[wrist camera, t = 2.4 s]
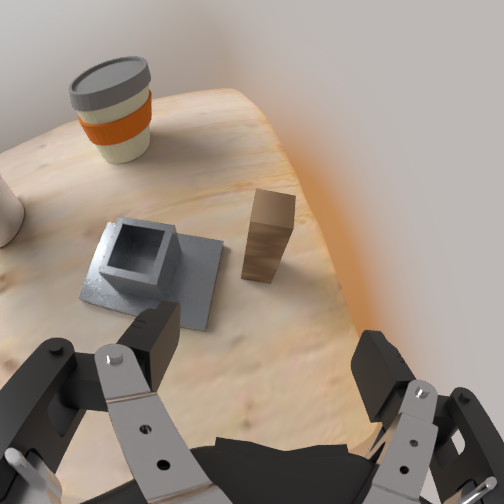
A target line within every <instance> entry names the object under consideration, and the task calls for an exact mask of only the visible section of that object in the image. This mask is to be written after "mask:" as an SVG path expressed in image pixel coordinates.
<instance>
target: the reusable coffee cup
mask: <svg viewBox="0 0 504 504" xmlns="http://www.w3.org/2000/svg"><path fill="white" fill-rule="evenodd" d="M150 80H151V76H150V72H149V68H148V65H147V61H146V60H145V59H144V58H142V57H136V56H129V57H120V58H116V59H112V60H108V61H105V62H102V63H100V64H98V65H95V66H93V67H91V68H89V69H88V70H86V71H84V72H83V73H81V74H80V75H79V76H78V77H76V78H75V79H74V80H73V81H72V83H71V84H70V86H69V94H70V99H71V104H72V107H73V108H74V109H75V110H77V112H78V114H79V122H80V123H81V125H82V127H83V129H84V131H85V132H86V134H87V136H88V138H89V139H90V141H91V142H92V143H94V144H95V145H96V146H97V148H98V150H99V152H100V153H101V155H102V157H103V158H104V160H105V161H107V162H108V163H112V164H122V163H126V162H129V161H132V160H134V159H136V158H138V157H139V156H141V155H142V154H143V153H144V152H145V151H146V150H147V148H148V147H149V144H150V128H149V123H150V121H151V116H152V112H151V91H150V90H149V82H150Z"/></svg>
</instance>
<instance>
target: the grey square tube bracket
mask: <svg viewBox="0 0 504 504" xmlns="http://www.w3.org/2000/svg"><path fill="white" fill-rule="evenodd" d="M222 249H223V241H219V240H214V239H208V238H202V237H196V236H190V235H184V234H178V233H177V232H176V228H175V225H169V224H163V223H156V222H150V221H144V220H137V219H131V218H124V217H119V219H118V221H117V223H111V222H108V223H107V225H106V228H105V230H104V232H103V235H102V237H101V240H100V242H99V244H98V247H97V249H96V252H95V255H94V257H93V260H92V262H91V265H90V268H89V271H88V273H87V276H86V279H85V282H84V285H83V288H82V291H81V294H80V297H79V299H80V300H82V301H84V302H87V303H90V304H93V305H97V306H100V307H103V308H107V309H110V310H114V311H118V312H121V313H125V314H129V315H133V316H136V317H137V316H138V315H139V314H140V313H141V312H142V311H144V310H146V309H148V308H152V309H156V308H157V306H158V305H159V304H160V302H161V301H162V300H163V299H164V300H169V301H173V302H178V303H180V305H181V313H180V327H183V328H188V329H193V330H198V331H203V332H206V326H207V321H208V316H209V311H210V306H211V301H212V296H213V291H214V287H215V282H216V277H217V272H218V267H219V263H220V258H221V254H222Z"/></svg>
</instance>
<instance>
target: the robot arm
mask: <svg viewBox="0 0 504 504" xmlns="http://www.w3.org/2000/svg"><path fill="white" fill-rule="evenodd" d="M23 218H24V207H23V205H22V204H21V202H20V201H19V200H18V199H17V197H16V196H15V195H14V193H13V192H12V190H11V189H10V188H9V186H8V185H7V184H6V182H5V181H4V179H3V178H2V177H1V175H0V247H3V246H5V245H6V244H8V243H9V242H10V241H11V240H12V239H13V238H14V236H15V235H16V234H17V232H18V230H19V229H20V227H21V224H22V222H23ZM180 313H181V305H180V303H178V302H173V301H169V300H164V299H163V300H162V301H161V302H160V304H159V305H158V306H157V308H156V309H152V308H148V309H146V310H144V311H142V312H141V313H140V314H139V315H138V316H137V317H136V319H135V321H133V322H132V324H131V326H129V328H128V329H127V330H126V331H125V333H124V334H123V335H122V337H121V338H120V339H119V340H118V342H117V343H116V344H108V345H105V346H102V347H101V348H99V349H98V350H97V351H96V353H95V354H87V353H77V352H75V351H74V347H73V345H72V343H71V342H70V341H68V340H66V339H63V338H51V339H48V340H46V341H44V342H43V343H42V344H41V345H40V346H39V347H38V348H37V349H36V350H35V351H34V352H33V353H32V354H31V355H30V357H29V358H28V359H27V360H26V361H25V362H24V363H23V364H22V365H21V367H20V368H19V369H18V370H17V371H16V372H15V373H14V375H13V376H12V377H11V378H10V379H9V381H8V382H7V383H6V384H5V385H4V387H3V388H2V389H1V390H0V504H61V495H62V487H61V484H60V482H59V480H58V478H57V477H56V476H55V473H56V471H57V469H58V466H59V464H60V462H61V460H62V458H63V456H64V454H65V452H66V450H67V448H68V446H69V444H70V441H71V439H72V437H73V436H74V434H75V432H76V430H77V428H78V426H79V424H80V422H81V420H82V418H83V416H84V414H85V412H86V411H87V410H95V411H105V412H108V413H109V416H110V419H111V422H112V425H113V428H114V430H115V433H116V436H117V439H118V441H119V444H120V447H121V449H122V452H123V454H124V457H125V459H126V462H127V464H128V466H129V469H130V471H131V473H132V475H133V477H134V479H132V480H131V481H129V482H127V483H125V484H123V485H121V486H119V487H116V488H114V489H112V490H110V491H108V492H106V493H104V494H101V495H99V496H97V497H95V498H92V499H90V500H87V501H85V502H83V503H80V504H432V503H430V502H429V501H427V500H426V499H424V498H423V497H421V496H420V493H421V490H422V487H423V484H424V481H425V478H426V474H427V471H428V468H430V470H431V473H432V476H433V479H434V482H435V485H436V488H437V492H438V495H439V498H440V501H441V504H504V442H503V440H502V438H501V437H500V435H499V433H498V431H497V430H496V428H495V426H494V425H493V423H492V421H491V420H490V418H489V416H488V415H487V413H486V412H485V410H484V408H483V407H482V405H481V404H480V402H479V401H478V399H477V398H476V396H475V395H474V394H473V393H472V392H471V391H470V390H468V389H466V388H462V387H458V388H455V389H454V390H453V392H452V393H451V395H450V396H441V395H438V394H437V391H436V389H435V388H434V387H433V386H432V385H431V384H429V383H428V382H426V381H422V380H416V378H415V376H414V375H413V373H412V372H411V370H410V368H409V367H408V365H407V364H406V363H405V361H404V359H403V358H402V357H401V354H400V353H399V351H398V350H397V348H395V347H394V346H393V345H392V344H391V343H389V342H388V341H387V340H386V338H385V336H384V335H383V333H382V332H381V331H372V330H365V331H364V332H363V333H362V335H361V338H360V340H359V343H358V345H357V347H356V350H355V352H354V355H353V357H352V360H351V371H352V374H353V376H354V379H355V381H356V384H357V387H358V389H359V392H360V395H361V397H362V400H363V403H364V405H365V408H366V411H367V414H368V416H369V419H370V422H371V423H373V422H382V426H381V427H380V429H379V430H378V432H377V434H376V436H375V438H374V440H373V442H372V444H371V446H370V448H369V450H368V452H367V453H366V455H365V457H362V456H359V455H355V454H352V453H349V452H348V448H347V444H343V445H316V446H311V447H307V448H302V449H296V450H291V451H281V450H277V449H274V448H270V447H266V446H263V445H259V444H256V443H253V442H248V441H240V440H233V439H226V438H219V437H216V442H215V446H203V447H197V448H192V449H189V448H188V447H187V445H186V444H185V442H184V440H183V439H182V437H181V435H180V434H179V432H178V430H177V429H176V427H175V425H174V423H173V422H172V420H171V418H170V416H169V415H168V413H167V411H166V409H165V407H164V405H163V403H162V401H161V400H160V398H159V396H158V394H157V393H156V392H157V390H158V388H159V386H160V383H161V381H162V379H163V377H164V374H165V372H166V370H167V368H168V365H169V363H170V361H171V359H172V357H173V354H174V352H175V350H176V348H177V345H178V341H179V335H180ZM458 429H459V430H460V432H461V434H462V436H463V438H464V441H465V448H464V450H463V452H462V453H461V454H460V455H459V454H458V452H457V450H456V447H455V445H454V443H453V441H452V439H451V437H452V436H453V435H454V434H455V432H456V431H457V430H458Z"/></svg>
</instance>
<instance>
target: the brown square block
mask: <svg viewBox="0 0 504 504" xmlns="http://www.w3.org/2000/svg"><path fill="white" fill-rule="evenodd" d="M295 198H296V196H294V195H289V194H283V193H278V192H272V191H267V190H261V189H256V192H255V197H254V203H253V209H252V214H251V220H250V226H249V232H248V238H247V245H246V251H245V257H244V263H243V270H242V276H241V279H247V280H253V281H259V282H265V283H271V281H272V279H273V276H274V274H275V272H276V269H277V267H278V265H279V262H280V260H281V258H282V255H283V253H284V250H285V248H286V246H287V243H288V241H289V238H290V236H291V234H292V231H293V228H294V214H295Z"/></svg>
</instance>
